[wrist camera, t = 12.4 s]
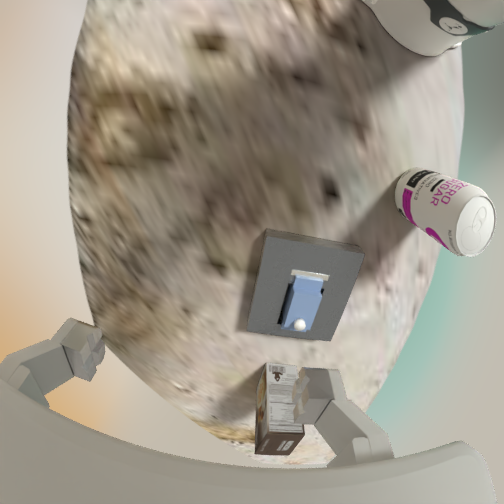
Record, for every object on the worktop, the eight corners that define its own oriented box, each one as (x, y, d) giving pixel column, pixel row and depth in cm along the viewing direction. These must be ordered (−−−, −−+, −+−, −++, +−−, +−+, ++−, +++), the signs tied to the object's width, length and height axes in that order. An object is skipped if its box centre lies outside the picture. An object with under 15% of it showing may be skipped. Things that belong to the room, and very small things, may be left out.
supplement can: (422, 227, 37) (479, 270, 23) (384, 206, 36) (440, 246, 22) (442, 182, 34) (507, 210, 20) (405, 157, 33) (471, 175, 19)
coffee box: (285, 392, 53) (289, 456, 38) (255, 389, 52) (253, 455, 38) (297, 364, 49) (305, 435, 34) (264, 361, 49) (264, 433, 34)
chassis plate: (266, 228, 38) (266, 236, 35) (358, 246, 39) (365, 254, 36) (247, 319, 45) (246, 331, 42) (327, 329, 45) (330, 341, 42)
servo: (293, 266, 40) (298, 286, 35) (319, 270, 40) (327, 290, 35) (279, 316, 44) (281, 339, 39) (303, 319, 44) (307, 342, 39)
